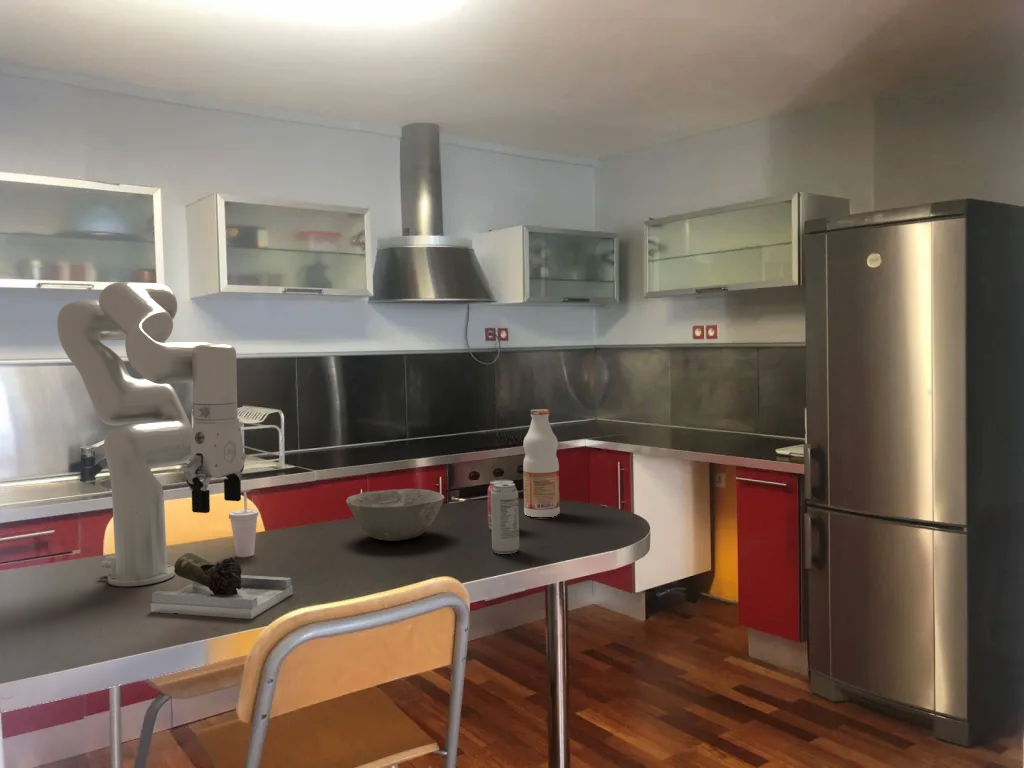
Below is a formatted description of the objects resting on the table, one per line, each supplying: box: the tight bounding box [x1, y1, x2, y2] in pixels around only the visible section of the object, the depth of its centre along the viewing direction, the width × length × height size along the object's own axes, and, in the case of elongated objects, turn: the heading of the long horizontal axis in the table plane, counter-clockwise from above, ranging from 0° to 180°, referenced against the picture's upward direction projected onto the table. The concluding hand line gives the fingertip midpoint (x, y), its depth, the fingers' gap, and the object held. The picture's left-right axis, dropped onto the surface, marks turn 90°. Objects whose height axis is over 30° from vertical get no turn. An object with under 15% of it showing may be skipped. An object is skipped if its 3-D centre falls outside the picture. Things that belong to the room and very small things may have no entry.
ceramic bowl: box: [345, 488, 445, 542], centre depth 197 cm, size 22×23×10 cm
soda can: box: [487, 479, 514, 531], centre depth 203 cm, size 7×7×12 cm
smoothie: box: [228, 491, 260, 558], centre depth 184 cm, size 6×6×14 cm
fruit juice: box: [522, 408, 561, 518], centre depth 218 cm, size 9×9×28 cm
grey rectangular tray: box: [150, 574, 294, 620], centre depth 151 cm, size 20×14×3 cm
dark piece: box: [173, 552, 242, 595], centre depth 152 cm, size 18×7×6 cm, turn 48°
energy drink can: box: [491, 482, 520, 555], centre depth 182 cm, size 6×6×15 cm
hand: (217, 506), depth 150 cm, fingers open, 9 cm apart
